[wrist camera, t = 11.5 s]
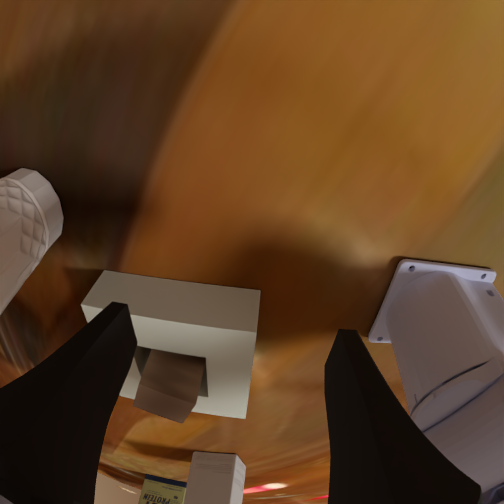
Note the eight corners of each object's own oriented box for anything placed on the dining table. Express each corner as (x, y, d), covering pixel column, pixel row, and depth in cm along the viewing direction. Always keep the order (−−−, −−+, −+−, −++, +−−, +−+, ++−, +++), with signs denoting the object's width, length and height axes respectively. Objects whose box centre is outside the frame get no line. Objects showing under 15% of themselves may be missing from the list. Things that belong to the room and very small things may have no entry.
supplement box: (192, 450, 41) (178, 519, 31) (237, 453, 40) (228, 526, 30) (205, 464, 45) (195, 525, 35) (247, 466, 44) (239, 530, 34)
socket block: (260, 290, 22) (256, 332, 18) (249, 383, 28) (245, 418, 25) (104, 270, 22) (80, 304, 19) (131, 364, 29) (119, 395, 25)
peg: (212, 330, 25) (195, 404, 19) (198, 355, 27) (182, 423, 21) (166, 312, 24) (138, 383, 18) (156, 339, 26) (132, 405, 20)
